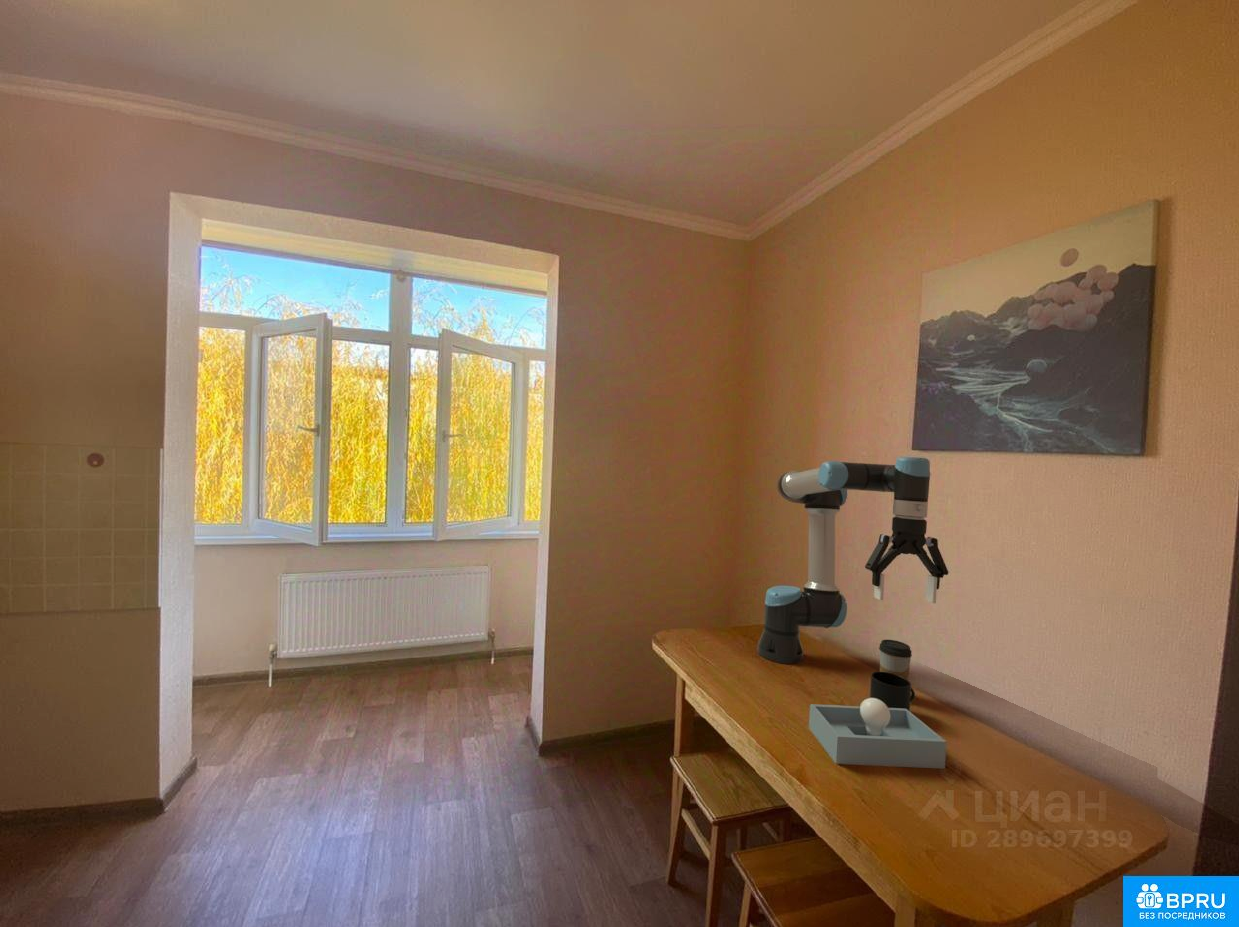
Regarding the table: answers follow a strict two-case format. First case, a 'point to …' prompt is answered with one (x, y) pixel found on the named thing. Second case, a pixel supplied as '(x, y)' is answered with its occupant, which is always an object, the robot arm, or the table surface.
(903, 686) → the mug
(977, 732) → the table surface
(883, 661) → the coffee cup
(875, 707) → the lightbulb
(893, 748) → the socket box
